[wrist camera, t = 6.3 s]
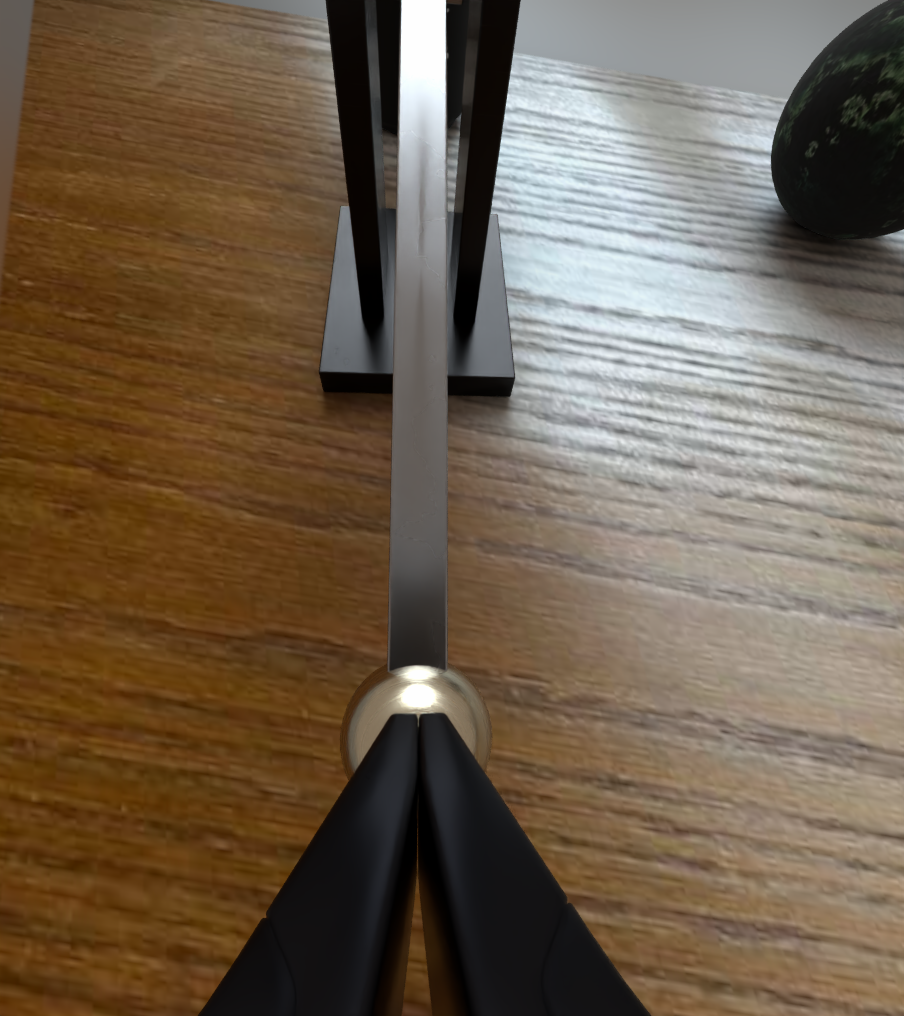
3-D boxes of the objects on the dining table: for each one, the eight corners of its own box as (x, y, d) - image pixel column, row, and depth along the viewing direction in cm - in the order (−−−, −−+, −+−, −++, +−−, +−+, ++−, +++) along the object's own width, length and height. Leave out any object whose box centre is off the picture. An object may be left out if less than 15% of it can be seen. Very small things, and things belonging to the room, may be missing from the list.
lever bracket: (510, 397, 22) (649, -128, 9) (323, 392, 21) (186, -178, 8) (494, 235, 27) (568, -246, 14) (343, 228, 26) (277, -282, 13)
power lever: (482, 785, 10) (506, 852, 8) (348, 789, 10) (324, 860, 8) (471, -63, 14) (485, -218, 12) (374, -73, 14) (365, -233, 11)
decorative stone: (940, 277, 28) (1188, 47, 19) (777, 283, 26) (961, 40, 18) (851, 172, 32) (1017, -53, 23) (708, 173, 31) (826, -64, 22)
